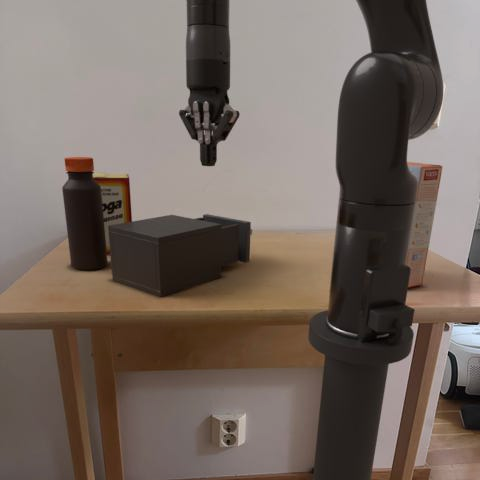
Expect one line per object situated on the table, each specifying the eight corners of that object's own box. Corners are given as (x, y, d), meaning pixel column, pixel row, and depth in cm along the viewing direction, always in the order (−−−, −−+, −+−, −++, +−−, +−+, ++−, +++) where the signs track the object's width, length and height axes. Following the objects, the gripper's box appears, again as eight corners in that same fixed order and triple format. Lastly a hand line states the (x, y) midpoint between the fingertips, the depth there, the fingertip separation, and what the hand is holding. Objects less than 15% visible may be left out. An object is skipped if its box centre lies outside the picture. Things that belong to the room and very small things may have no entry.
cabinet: (173, 263, 97) (171, 214, 93) (221, 277, 90) (221, 224, 86) (112, 280, 87) (107, 225, 83) (160, 297, 79) (158, 237, 75)
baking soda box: (132, 245, 110) (127, 172, 104) (134, 252, 104) (129, 175, 98) (89, 247, 108) (81, 172, 102) (88, 254, 102) (80, 176, 96)
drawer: (220, 247, 106) (220, 211, 103) (262, 257, 99) (264, 219, 96) (158, 264, 93) (156, 223, 90) (202, 276, 87) (202, 232, 84)
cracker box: (423, 285, 87) (445, 164, 79) (401, 291, 84) (420, 165, 76) (366, 266, 98) (380, 158, 90) (344, 270, 95) (357, 158, 87)
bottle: (71, 262, 96) (58, 156, 89) (106, 260, 99) (97, 156, 91) (71, 272, 91) (58, 159, 83) (109, 269, 93) (99, 159, 85)
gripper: (165, 58, 83) (168, 164, 90) (222, 54, 76) (222, 169, 82) (195, 63, 89) (196, 162, 95) (252, 59, 81) (249, 167, 88)
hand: (208, 165), depth 89 cm, fingers closed
